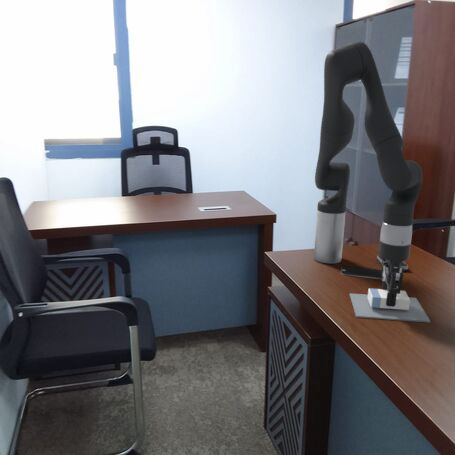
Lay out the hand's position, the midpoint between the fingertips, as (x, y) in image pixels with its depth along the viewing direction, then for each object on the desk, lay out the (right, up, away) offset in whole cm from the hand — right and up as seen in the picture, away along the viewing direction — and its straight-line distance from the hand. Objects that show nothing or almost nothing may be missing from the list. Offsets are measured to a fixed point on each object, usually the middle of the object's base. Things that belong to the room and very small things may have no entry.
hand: (388, 300), depth 123 cm
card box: (0, -1, 0) cm, 1 cm away
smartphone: (+1, +4, +25) cm, 25 cm away
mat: (0, -2, +1) cm, 2 cm away
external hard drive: (+12, +6, +32) cm, 35 cm away
